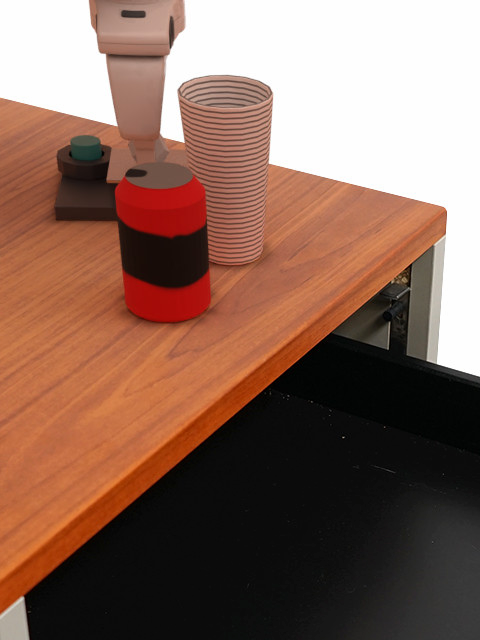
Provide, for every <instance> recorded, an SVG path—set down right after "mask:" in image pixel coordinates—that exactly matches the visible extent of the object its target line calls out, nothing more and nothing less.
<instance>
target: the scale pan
mask: <svg viewBox="0 0 480 640" xmlns="http://www.w3.org/2000/svg"><path fill="white" fill-rule="evenodd" d="M111 148H112V149H111V155H110V161H109V167H108V173H107V179H106V181H107V183H120V181H121V180H122V179H123V177H124V176H125V174H126V172H127V170H129V169H130V168H132V167H134V166H136V165H138V164H137V162H136V161H135V160H134V158H133V157H132V154H131V152H130V149H129V148H119V147H118V148H114V147H111ZM168 150H169V154H168V155H167V157H166V159H165V161H164V162H168V163H174V164H179V165H182V166H184V167H187V168H188V163H187V156H186V149H177V148H176V149H173V148H172V149H171V148H170V149H169V148H168Z"/></svg>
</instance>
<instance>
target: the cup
mask: <svg viewBox="0 0 480 640" xmlns="http://www.w3.org/2000/svg"><path fill="white" fill-rule="evenodd" d="M176 91H177V98H178V99H177V100H178V107H179V112H180V120H181V126H182V134H183V141H184V148H185V149H184V150H186V156H187V163H188V169H190V170H191V171H192V173H193V175H194V176H195V177H196V178H197V179H198V180H199V182H200V183H201V184H202V185H203V186H204V188H205V191H206V210H207V229H208V249H209V262H211V263H214V264H217V265H224V266H241V265H245V264H246V265H247V264H251V263H253V262H255V261H256V260H259V259H260V258H261V256H262V255H263V252H264V244H265V243H264V242H265V228H266V214H267V213H266V209H267V199H268V197H267V196H268V181H269V168H270V166H269V165H270V151H271V135H272V120H273V105H274V93H273V89H272V88H271V86H269V85H267V83H265V82H263V81H261V80H259V79H255V78H251V77H248V76H242V75H233V74H208V75H204V76H197V77H193V78H191V79H188V80H186V81H184V82H182V83H181V84H180V86H178V88H177V89H176Z"/></svg>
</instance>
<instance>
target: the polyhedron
mask: <svg viewBox="0 0 480 640" xmlns="http://www.w3.org/2000/svg"><path fill="white" fill-rule="evenodd" d="M127 146H128V149H130V152H131V154H132V157H133V158H134V160H135V161H136V162H137V159H136V149H135V146H134V142H133V140H129V142H128V144H127ZM168 149H169V148H168V144H167V142H166V140H165V138H164V137H163V135H162V133H160V136H159V138H158V139H157V140H155V153H156V162H164V161H165V159H166V157H167V155H168V154H169V150H168Z"/></svg>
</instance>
